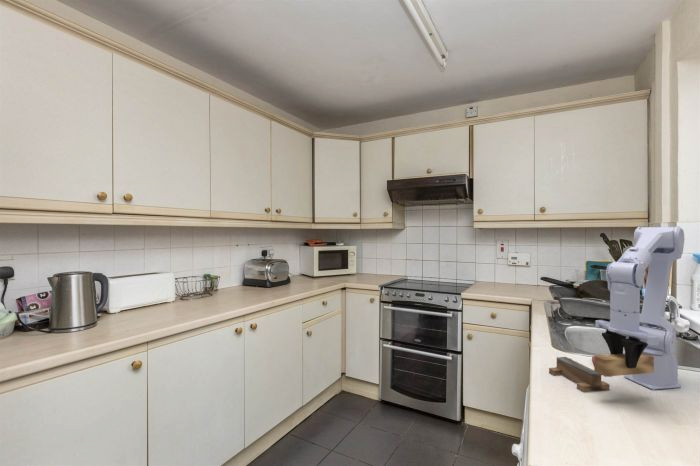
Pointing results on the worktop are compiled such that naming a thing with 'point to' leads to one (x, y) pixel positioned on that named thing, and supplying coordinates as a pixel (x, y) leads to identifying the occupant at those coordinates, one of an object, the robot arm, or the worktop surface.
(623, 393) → the worktop surface
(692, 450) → the worktop surface
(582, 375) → the ridge
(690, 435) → the worktop surface
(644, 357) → the oak bar
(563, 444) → the worktop surface
